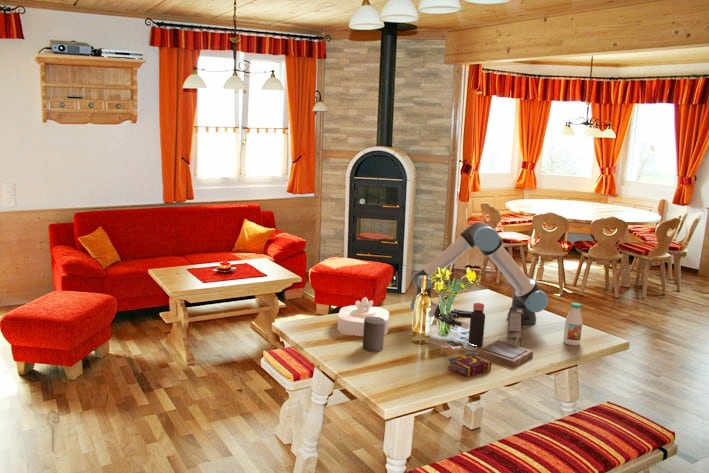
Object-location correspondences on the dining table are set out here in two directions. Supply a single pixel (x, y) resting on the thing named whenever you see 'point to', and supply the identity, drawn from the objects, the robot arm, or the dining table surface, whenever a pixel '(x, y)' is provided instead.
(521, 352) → the brown flat square board
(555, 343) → the dining table surface
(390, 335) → the dining table surface
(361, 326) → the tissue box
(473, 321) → the vinegar
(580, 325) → the milk bottle
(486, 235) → the robot arm
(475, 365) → the decorative book
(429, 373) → the dining table surface
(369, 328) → the pillar candle
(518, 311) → the coffee box
